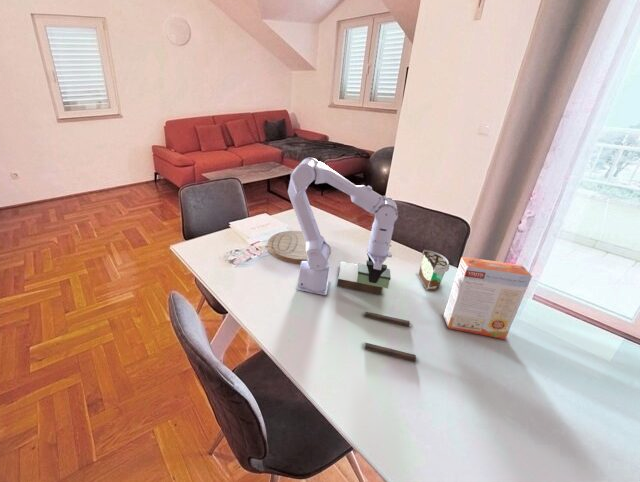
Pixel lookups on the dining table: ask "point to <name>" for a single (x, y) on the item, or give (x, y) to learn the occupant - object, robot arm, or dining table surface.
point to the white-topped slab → (354, 279)
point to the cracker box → (486, 296)
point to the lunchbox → (364, 277)
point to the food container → (432, 269)
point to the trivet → (288, 246)
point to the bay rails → (384, 349)
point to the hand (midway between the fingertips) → (372, 277)
